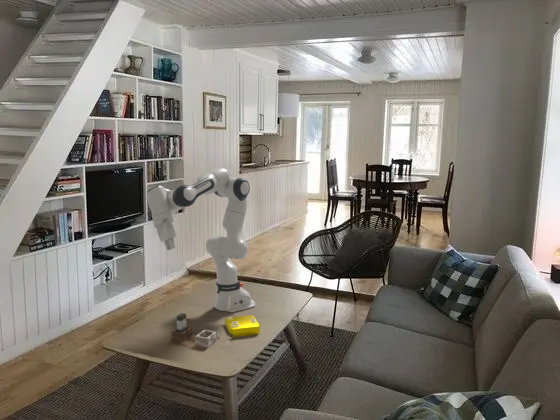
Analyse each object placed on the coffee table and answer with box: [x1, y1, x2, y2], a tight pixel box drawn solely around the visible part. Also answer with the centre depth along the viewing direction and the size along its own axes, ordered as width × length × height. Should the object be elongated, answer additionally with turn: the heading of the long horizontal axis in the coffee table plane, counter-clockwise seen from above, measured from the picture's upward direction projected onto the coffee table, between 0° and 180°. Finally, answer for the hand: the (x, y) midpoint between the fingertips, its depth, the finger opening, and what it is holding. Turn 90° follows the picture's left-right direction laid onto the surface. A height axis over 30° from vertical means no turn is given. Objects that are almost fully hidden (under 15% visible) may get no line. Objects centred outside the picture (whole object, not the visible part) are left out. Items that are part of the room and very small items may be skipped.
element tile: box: [224, 314, 261, 338], centre depth 230 cm, size 15×15×5 cm
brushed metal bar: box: [176, 312, 187, 332], centre depth 216 cm, size 4×2×11 cm, turn 158°
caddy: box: [166, 325, 221, 351], centre depth 214 cm, size 14×20×6 cm
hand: (171, 249), depth 216 cm, fingers open, 8 cm apart
